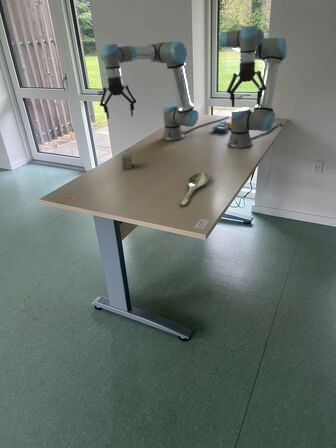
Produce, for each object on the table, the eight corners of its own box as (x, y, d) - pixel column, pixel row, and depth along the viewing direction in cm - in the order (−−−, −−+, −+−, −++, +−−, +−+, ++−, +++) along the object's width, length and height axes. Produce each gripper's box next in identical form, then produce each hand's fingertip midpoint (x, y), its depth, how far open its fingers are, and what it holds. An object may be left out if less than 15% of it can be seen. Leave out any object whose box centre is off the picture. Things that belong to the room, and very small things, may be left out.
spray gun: (237, 125, 262) (219, 125, 268) (237, 120, 259) (219, 119, 266) (229, 134, 246) (210, 133, 253) (229, 128, 244) (210, 127, 250)
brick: (124, 165, 208) (122, 153, 204) (132, 164, 208) (130, 153, 204) (123, 169, 202) (121, 157, 198) (131, 169, 202) (129, 157, 198)
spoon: (193, 209, 156) (193, 205, 155) (172, 207, 159) (171, 203, 158) (212, 175, 182) (212, 172, 181) (193, 174, 186) (193, 170, 184)
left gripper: (90, 79, 175) (97, 120, 186) (137, 75, 175) (142, 116, 186) (92, 77, 181) (99, 117, 192) (137, 73, 181) (142, 113, 192)
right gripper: (224, 64, 165) (223, 109, 176) (274, 60, 165) (270, 104, 176) (221, 63, 171) (221, 106, 182) (269, 58, 171) (266, 101, 182)
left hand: (120, 117), depth 189 cm, fingers open, 13 cm apart
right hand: (245, 105), depth 179 cm, fingers open, 13 cm apart
